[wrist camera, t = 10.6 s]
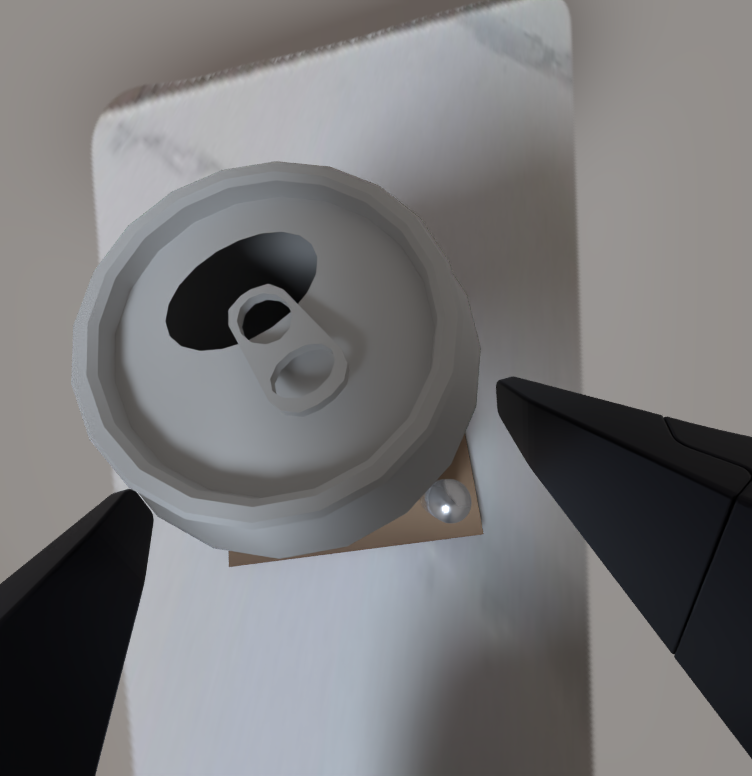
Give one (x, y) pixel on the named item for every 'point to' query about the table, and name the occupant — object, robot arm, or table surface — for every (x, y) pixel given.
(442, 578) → the table surface
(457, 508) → the standoff plate
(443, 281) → the can
